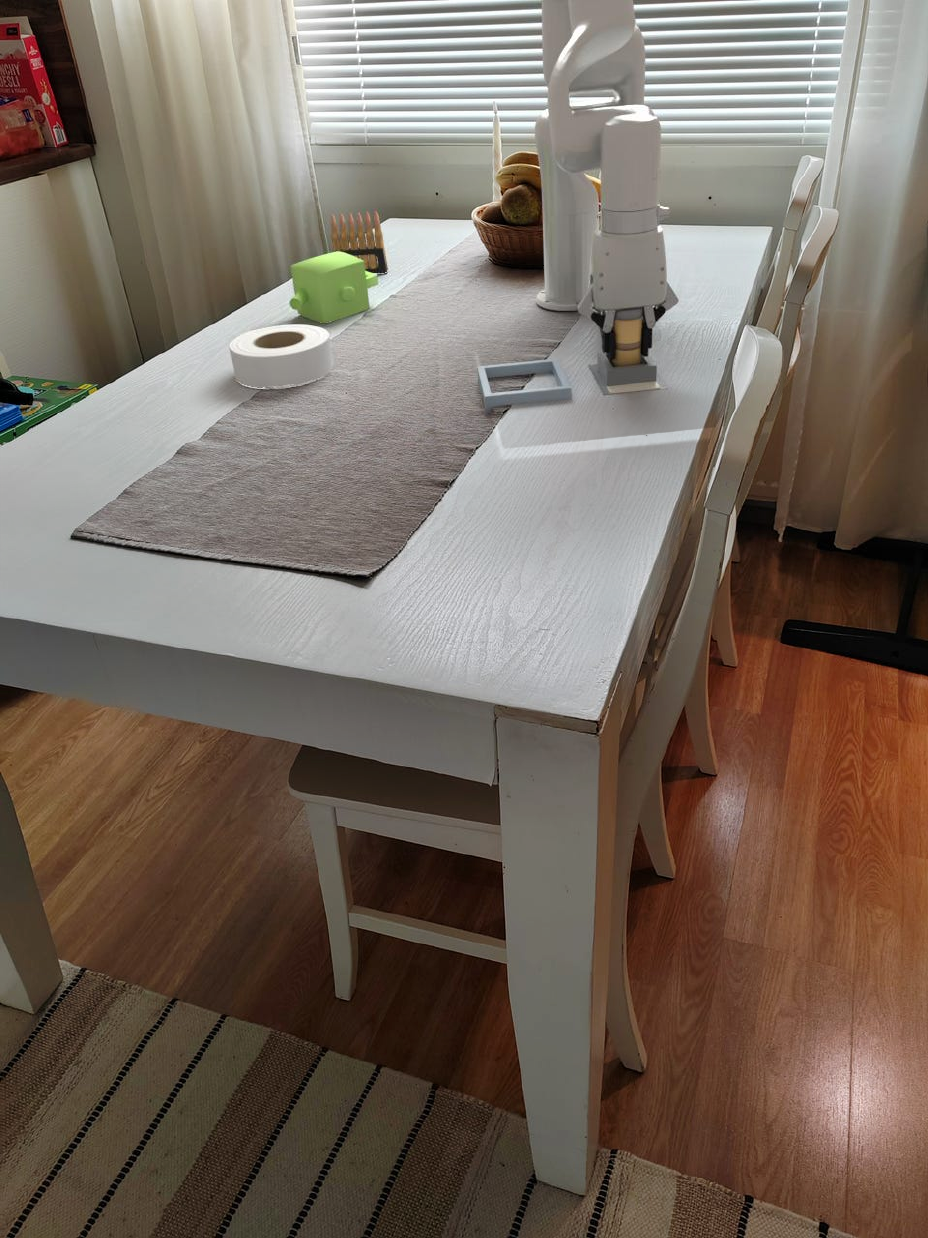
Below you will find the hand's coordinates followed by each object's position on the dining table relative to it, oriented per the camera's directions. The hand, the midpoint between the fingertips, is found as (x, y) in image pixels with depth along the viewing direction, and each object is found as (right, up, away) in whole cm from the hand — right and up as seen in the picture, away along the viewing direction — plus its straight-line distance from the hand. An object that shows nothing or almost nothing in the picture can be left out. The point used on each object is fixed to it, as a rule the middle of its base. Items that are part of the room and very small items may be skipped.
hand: (626, 353), depth 140 cm
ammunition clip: (-44, +33, +62) cm, 83 cm away
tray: (-15, -5, +2) cm, 16 cm away
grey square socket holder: (0, -4, +2) cm, 4 cm away
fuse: (0, -3, +2) cm, 3 cm away
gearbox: (-47, +18, +41) cm, 65 cm away
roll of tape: (-52, +1, +17) cm, 55 cm away
